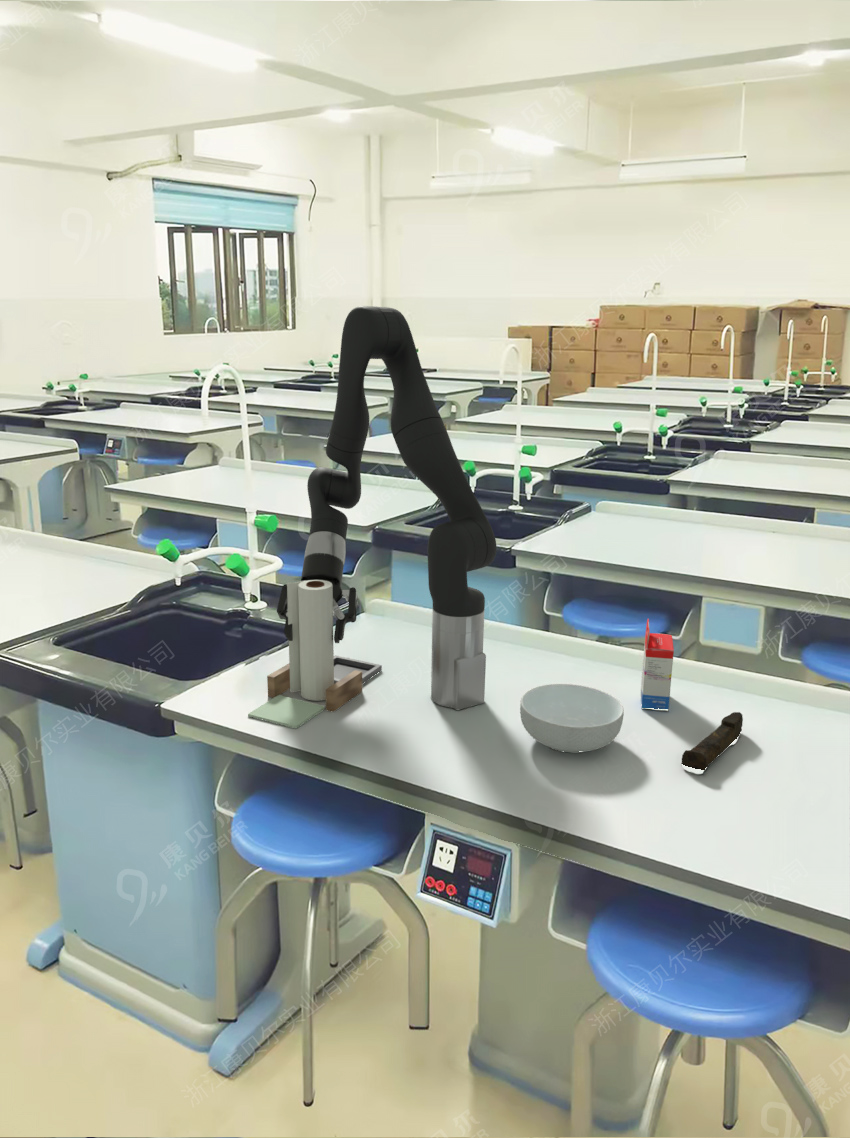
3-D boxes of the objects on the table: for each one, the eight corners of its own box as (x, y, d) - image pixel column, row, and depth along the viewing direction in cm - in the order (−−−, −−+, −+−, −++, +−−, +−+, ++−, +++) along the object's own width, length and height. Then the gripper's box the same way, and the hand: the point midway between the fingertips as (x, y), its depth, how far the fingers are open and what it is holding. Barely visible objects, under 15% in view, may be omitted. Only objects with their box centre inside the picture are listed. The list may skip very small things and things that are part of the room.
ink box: (669, 712, 164) (676, 635, 160) (640, 710, 165) (647, 632, 161) (666, 693, 172) (673, 619, 168) (639, 691, 173) (646, 616, 169)
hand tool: (703, 779, 142) (706, 752, 140) (679, 770, 144) (682, 743, 143) (755, 739, 155) (758, 713, 154) (732, 731, 158) (735, 706, 156)
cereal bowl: (598, 777, 141) (601, 735, 139) (501, 750, 150) (502, 710, 148) (635, 735, 155) (638, 696, 153) (544, 712, 164) (546, 675, 162)
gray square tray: (335, 660, 185) (335, 655, 184) (381, 670, 180) (381, 665, 180) (305, 679, 176) (305, 673, 175) (353, 690, 171) (353, 684, 171)
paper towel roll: (340, 694, 169) (339, 583, 163) (315, 704, 165) (313, 590, 159) (315, 683, 174) (313, 575, 168) (290, 693, 170) (286, 581, 164)
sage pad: (278, 697, 168) (278, 694, 168) (325, 708, 163) (325, 706, 163) (248, 716, 160) (248, 713, 160) (296, 728, 156) (296, 726, 156)
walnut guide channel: (299, 677, 177) (298, 657, 176) (362, 691, 171) (362, 671, 170) (267, 696, 168) (267, 675, 167) (333, 712, 162) (333, 691, 161)
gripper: (283, 550, 170) (269, 629, 163) (359, 552, 169) (349, 633, 161) (290, 569, 177) (277, 647, 169) (364, 572, 176) (354, 650, 168)
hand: (313, 640), depth 165 cm, fingers open, 8 cm apart
